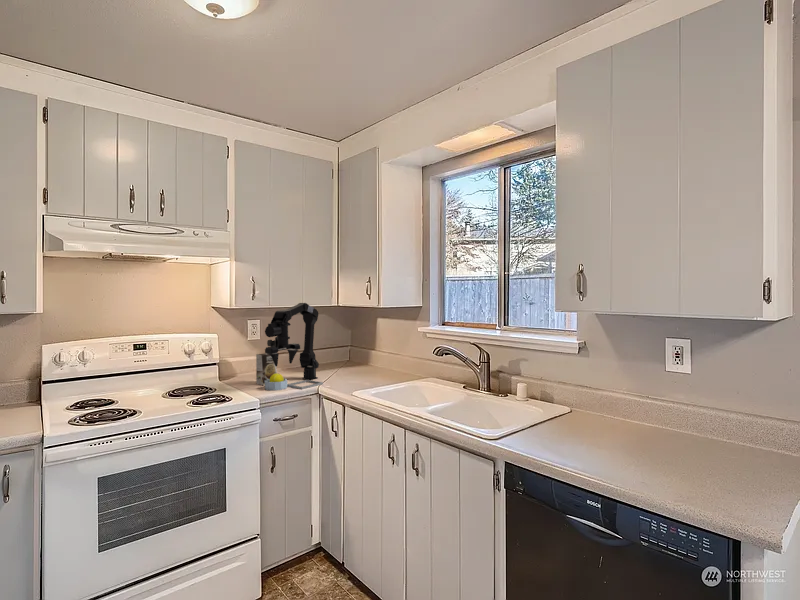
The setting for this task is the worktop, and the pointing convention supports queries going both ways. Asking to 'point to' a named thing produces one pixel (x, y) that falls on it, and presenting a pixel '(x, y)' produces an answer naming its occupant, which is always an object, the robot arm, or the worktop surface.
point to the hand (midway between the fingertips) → (283, 364)
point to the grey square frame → (304, 382)
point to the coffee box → (264, 368)
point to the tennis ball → (276, 378)
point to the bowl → (275, 385)
